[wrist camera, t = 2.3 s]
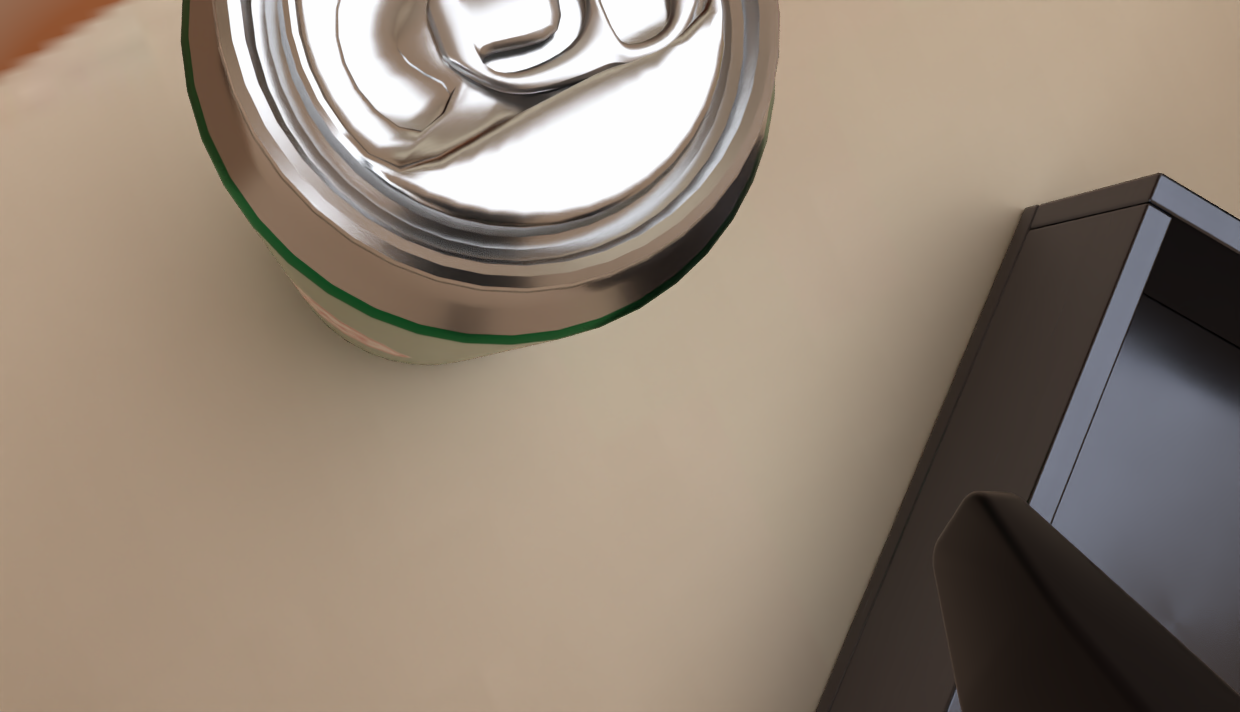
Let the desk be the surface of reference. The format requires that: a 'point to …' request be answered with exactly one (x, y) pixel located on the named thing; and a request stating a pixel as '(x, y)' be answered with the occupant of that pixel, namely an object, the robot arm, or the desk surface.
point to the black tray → (1083, 433)
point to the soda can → (482, 154)
